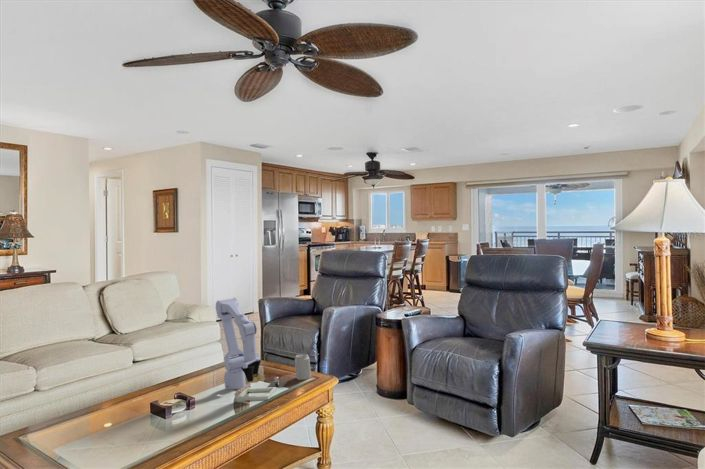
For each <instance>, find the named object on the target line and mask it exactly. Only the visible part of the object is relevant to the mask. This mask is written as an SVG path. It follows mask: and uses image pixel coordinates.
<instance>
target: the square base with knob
mask: <svg viewBox="0 0 705 469" xmlns="http://www.w3.org/2000/svg"><path fill="white" fill-rule="evenodd" d="M273 379H274V381H272V382H271V383H270V384H269V385H267V387H266V388H269V387H276V388H277V389H278V388H283V387H284V386H285V385H286V384H287V383H288V381H279V376H274V378H273Z"/></svg>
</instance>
